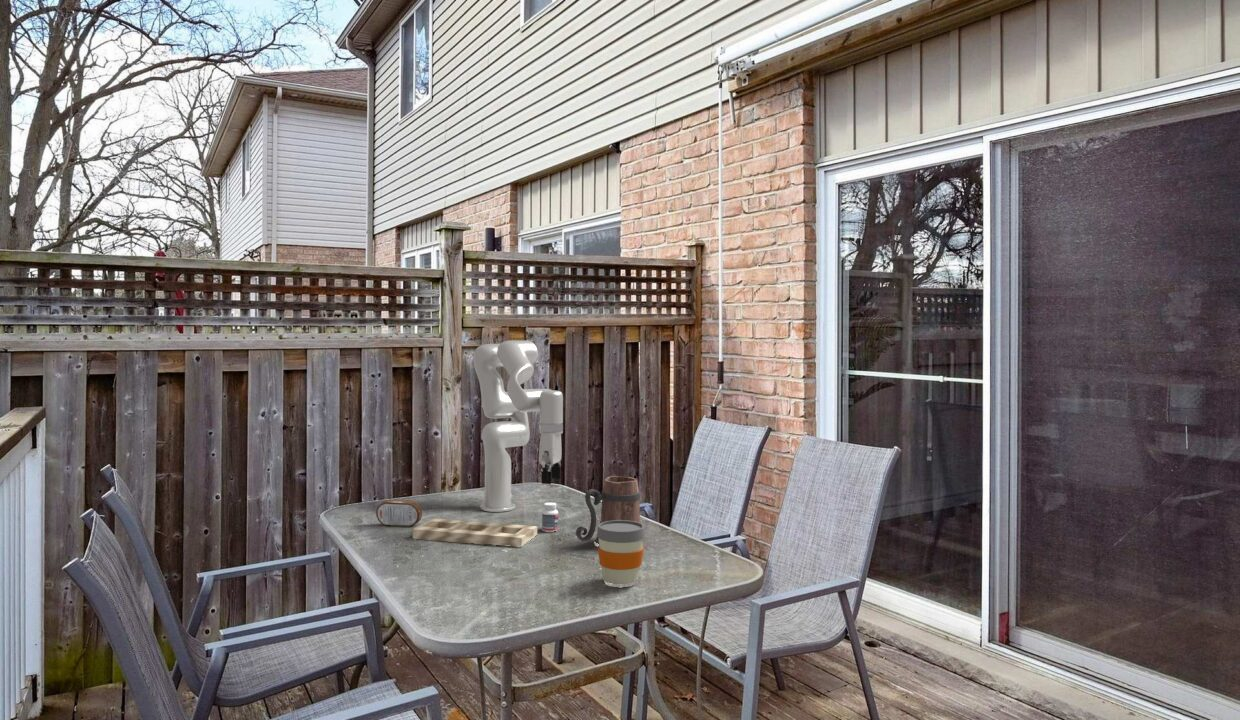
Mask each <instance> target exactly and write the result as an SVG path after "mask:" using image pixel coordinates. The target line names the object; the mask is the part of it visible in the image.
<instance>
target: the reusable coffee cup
mask: <svg viewBox="0 0 1240 720" xmlns="http://www.w3.org/2000/svg"><path fill="white" fill-rule="evenodd" d="M596 534H597V535H596V537H598V539H599V546H598V547H597V554H598V560H599V566H601V573H602V581H603V580H604V581H606V582H609V583H613V584H628V583H632V582H635V581H636V580H638V581H639V575H640V574H639V573H640V566H642V563H643V555H644V549H645V547H643V539H644V540H645V538H646V533H645V525H644V524H643V523H642V522H641V523H639V522H635V521H628V520H612V521H606V522H602V523H600V522H599V523H598V526H597V533H596Z"/></svg>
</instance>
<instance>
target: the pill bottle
mask: <svg viewBox="0 0 1240 720" xmlns="http://www.w3.org/2000/svg"><path fill="white" fill-rule="evenodd" d="M541 514H542V515H541V516H542V517H541V518H542V520H541V523H542V524H541V531H542V532H543V531H545V532H544V533H555V532H554V531H556V532H558V531H559V511H558V509H557V503H556V502H545V503H544V504H543V510H542V513H541ZM557 530H558V531H557Z"/></svg>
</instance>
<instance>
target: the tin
mask: <svg viewBox="0 0 1240 720" xmlns="http://www.w3.org/2000/svg"><path fill="white" fill-rule="evenodd" d="M422 511H423V510H422V508H421V506H420V505H419V504H418V503H417V502H416V501H413V500H402V499H401V500H398V499H387V500H383V501H382V502H381V503H380V504H379V505H378V506H377V508H376V512H375V514H376V519H377V521H378V522H379V523H380V524H381V525H383V526H386V525H390V526H389V527H401V526H411V527H414V526H416V524H418V523H420V521H421V520H422V517H423V512H422Z"/></svg>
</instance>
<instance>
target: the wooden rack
mask: <svg viewBox="0 0 1240 720" xmlns="http://www.w3.org/2000/svg"><path fill="white" fill-rule="evenodd" d="M536 535H537V536H538V526H536V525H523V524H510V523H500V522H499V523H498V522H496V523H495V522H487V521H486V522H485V521H484V522H483V521H474V520H473V521H470V520H458V519H448V518H447V519H444V518H435V517H434V518H432V519H429V520H428V521H426V522H423V523H422V524H419V525H418V526H415V528H413V529H412V539H413V540H422V541H423V540H426V541H437V542H449V543H462V544H471V543H474V544H473V545H484V544H494V545H493V546H496V545H510V546H523V545H524V544H526V543H527V542H528V541H530V540H531V539H532V538H534V537H535V536H536ZM537 536H536V537H537ZM536 537H535V538H536ZM535 538H534V539H535ZM532 540H533V539H532ZM532 540H531V541H532ZM531 541H530V542H531ZM528 543H529V542H528ZM528 543H527V544H528ZM527 544H526V545H527ZM524 546H525V545H524ZM524 546H523V547H524Z"/></svg>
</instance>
